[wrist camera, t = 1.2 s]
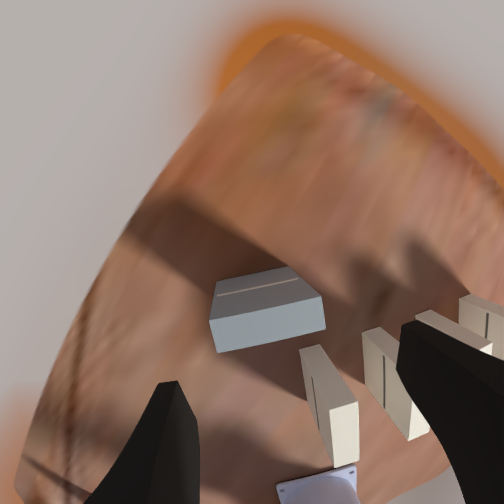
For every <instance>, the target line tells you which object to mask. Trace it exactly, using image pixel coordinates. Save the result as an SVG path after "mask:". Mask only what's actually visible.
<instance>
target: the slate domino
mask: <svg viewBox="0 0 504 504" xmlns="http://www.w3.org/2000/svg"><path fill="white" fill-rule="evenodd" d="M209 323H210V327H211V331H212V335H213V339H214V342H215V346H216V350H217V353H221V352H226V351H231V350H236V349H241V348H246V347H251V346H256V345H261V344H265V343H270V342H275V341H279V340H283V339H288V338H292V337H296V336H300V335H304V334H309V333H313V332H316V331H320V330H324V329H326V325H325V318H324V311H323V304H322V297H321V295H320V294H319V293H317V292H316V291H315V290H314V289H313V288H312V287H311V286H310V285H309V284H308V283H307V282H306V281H304V280H303V279H302V278H301V277H300V276H299V275H298V274H297V273H296V272H295V271H294V270H293V269H291V268H290V267H289V266H287V267H282V268H278V269H273V270H268V271H264V272H259V273H254V274H249V275H245V276H240V277H235V278H230V279H225V280H220V281H217V282H216V287H215V292H214V297H213V302H212V307H211V312H210V317H209Z"/></svg>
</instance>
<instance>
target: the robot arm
mask: <svg viewBox="0 0 504 504" xmlns="http://www.w3.org/2000/svg"><path fill="white" fill-rule="evenodd" d="M396 371H397V373H398V375H399V377H400V380H401V382H402V384H403V386H404V387H405V389H406V391H407V393H408V395H409V396H410V398H411V399H412V401H413V402H414V404H415V405H416V407H417V408H418V410H419V411H420V412H421V414H422V415H423V417H424V418H425V420H426V421H427V423H428V424H429V426H430V427H431V429H432V430H433V432H434V433H435V435H436V436H437V438H438V439H439V441H440V443H441V445H442V446H443V448H444V450H445V452H446V455H447V457H448V459H449V461H450V463H451V465H452V467H453V470H454V472H455V475H456V477H457V480H458V482H459V485H460V487H461V491H462V494H463V497H464V500H465V503H466V504H504V360H501V359H499V358H496V357H494V356H492V355H489V354H487V353H485V352H482V351H480V350H478V349H476V348H474V347H472V346H469V345H467V344H465V343H463V342H461V341H459V340H457V339H455V338H453V337H451V336H449V335H447V334H445V333H443V332H442V331H440V330H438V329H436V328H434V327H432V326H430V325H428V324H426V323H423V322H421V321H419V320H414V321H411V322H409V323H406V324H403V325H402V327H401V335H400V342H399V350H398V356H397V363H396ZM276 489H277V493H278V496H279V499H280V503H281V504H361V503H360V501H359V499H358V496H357V494H356V466H355V465H354V464H351V465H348V466H344V467H341V468H338V469H335V470H331V471H328V472H324V473H320V474H317V475H313V476H309V477H305V478H301V479H296V480H292V481H287V482H282V483H279V484H277V485H276ZM83 504H200V445H199V435H198V427H197V420H196V418H195V416H194V414H193V412H192V410H191V408H190V406H189V404H188V402H187V399H186V397H185V395H184V393H183V391H182V389H181V387H180V385H179V383H178V381H171V382H163V383H159V384H158V385H157V387H156V389H155V391H154V393H153V395H152V397H151V399H150V401H149V403H148V405H147V407H146V409H145V410H144V412H143V414H142V416H141V418H140V420H139V422H138V424H137V426H136V427H135V429H134V431H133V433H132V435H131V437H130V438H129V440H128V442H127V444H126V445H125V447H124V448H123V450H122V452H121V453H120V455H119V457H118V458H117V460H116V461H115V463H114V464H113V466H112V467H111V469H110V470H109V472H108V473H107V475H106V476H105V477H104V479H103V480H102V481H101V483H100V484H99V485H98V487H97V488H96V489H95V490H94V491H93V493H92V494H91V495H90V496H89V497H88V499H87V500H86V501H85V502H84V503H83Z"/></svg>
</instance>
